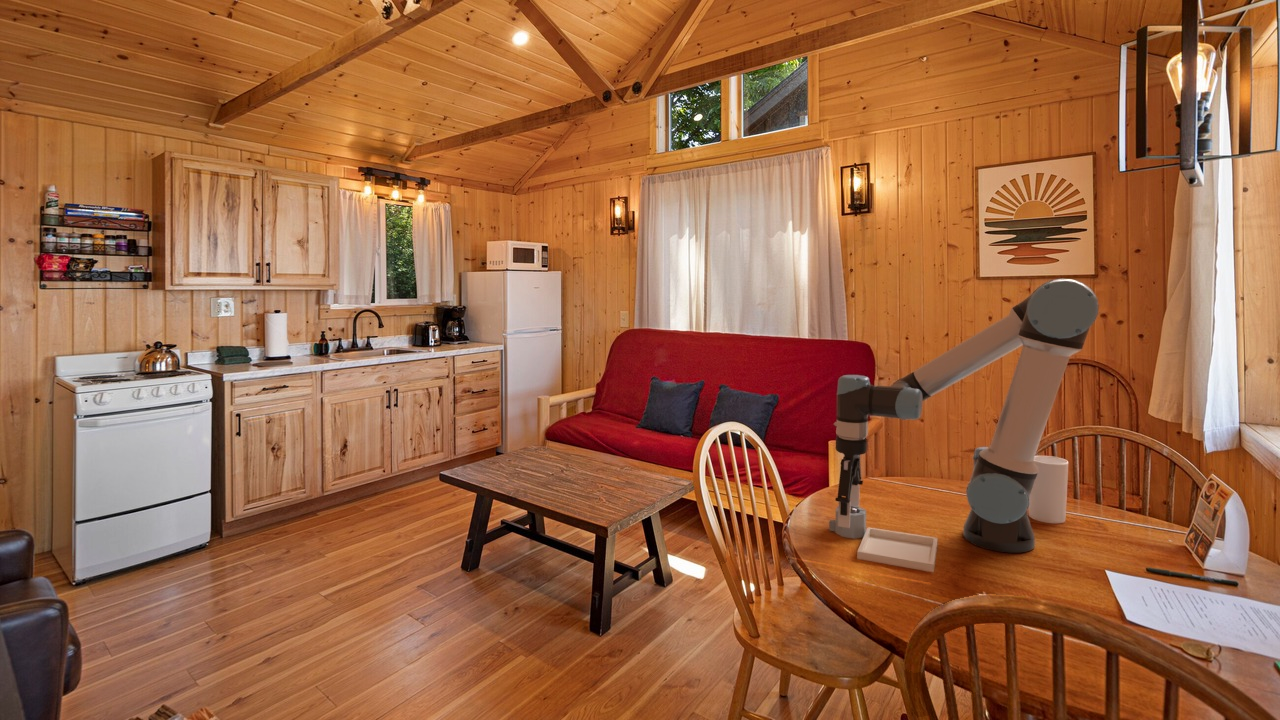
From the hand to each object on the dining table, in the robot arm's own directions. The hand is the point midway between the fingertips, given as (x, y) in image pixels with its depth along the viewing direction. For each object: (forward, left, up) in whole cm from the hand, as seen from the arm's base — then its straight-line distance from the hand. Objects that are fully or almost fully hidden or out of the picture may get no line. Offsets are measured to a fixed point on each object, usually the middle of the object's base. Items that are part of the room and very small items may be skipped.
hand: (848, 517), depth 155 cm
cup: (-45, -33, -5) cm, 56 cm away
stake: (0, 0, -4) cm, 4 cm away
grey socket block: (0, 0, -4) cm, 4 cm away
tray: (-12, +7, -4) cm, 15 cm away
